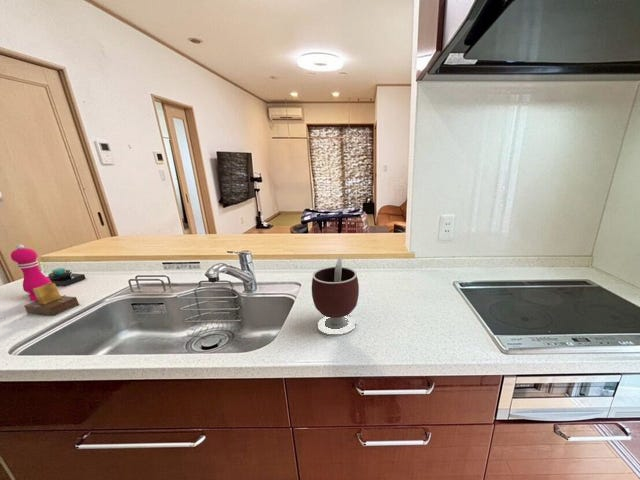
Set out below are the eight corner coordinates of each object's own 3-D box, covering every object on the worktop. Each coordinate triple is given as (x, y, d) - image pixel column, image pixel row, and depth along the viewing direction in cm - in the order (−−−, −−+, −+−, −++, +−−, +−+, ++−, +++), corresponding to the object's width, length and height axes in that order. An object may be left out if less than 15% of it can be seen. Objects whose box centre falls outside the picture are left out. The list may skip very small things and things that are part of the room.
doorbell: (39, 284, 118) (35, 275, 116) (61, 277, 125) (58, 268, 124) (65, 286, 116) (61, 277, 115) (86, 279, 124) (82, 270, 122)
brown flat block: (25, 314, 96) (21, 305, 95) (56, 301, 105) (53, 293, 103) (51, 317, 95) (47, 308, 94) (81, 303, 103) (77, 295, 102)
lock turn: (44, 304, 96) (36, 288, 94) (39, 304, 96) (32, 288, 94) (61, 297, 101) (54, 282, 99) (56, 297, 101) (50, 282, 99)
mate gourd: (354, 339, 85) (354, 275, 77) (308, 335, 86) (303, 272, 79) (362, 313, 99) (362, 256, 92) (322, 310, 101) (319, 254, 93)
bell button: (51, 275, 118) (49, 270, 117) (61, 271, 121) (59, 267, 121) (58, 275, 118) (57, 271, 117) (68, 272, 121) (67, 268, 120)
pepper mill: (24, 299, 106) (-2, 245, 98) (50, 291, 112) (27, 240, 105) (35, 302, 104) (9, 248, 96) (61, 294, 110) (38, 242, 102)
